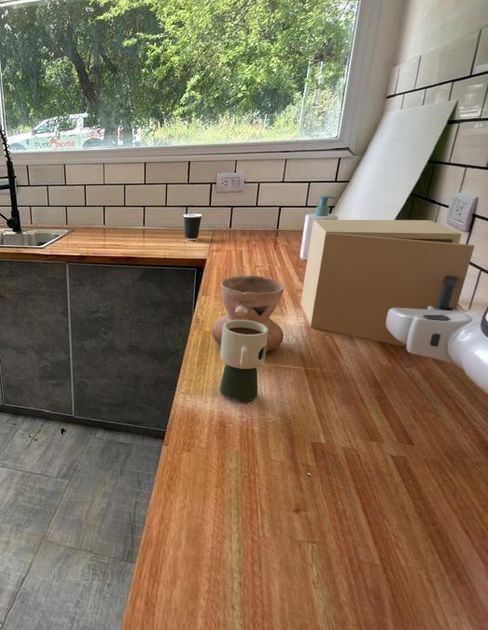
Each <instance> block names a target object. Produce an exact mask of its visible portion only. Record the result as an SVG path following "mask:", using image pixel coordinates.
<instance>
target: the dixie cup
mask: <svg viewBox="0 0 488 630" xmlns="http://www.w3.org/2000/svg"><path fill="white" fill-rule="evenodd" d="M202 217H203V214H201V213H185V214H183V222H184V223H183V224H184V238H185V239H186V238H187V239H197V240H198V238H199V233H200V228H201V221H202Z"/></svg>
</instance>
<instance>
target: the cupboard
mask: <svg viewBox="0 0 488 630" xmlns="http://www.w3.org/2000/svg"><path fill="white" fill-rule="evenodd" d="M326 233H337V234H349V235H361V236H373V237H385V238H397V239H409V240H421V241H433V242H445V243H457V244H460V243H461V239H462V238H461V237H462V233H461V232H458V231H457V230H454V229H451V228H450V227H447V226H445V225H442V224H439V223H438V222H435V221H433V220H430V219H426V220H425V219H423V220H422V219H419V220H418V219H337V220H313V226H312V233H311V240H310V246H309V253H308V259H307V261H306V267H305V273H304V280H303V286H302V293H301V298H300V299H301V300H300V305H301V307H302V309H303V313H304V314H305V317H306V319H307V321H308V324H309V325H310V327H311V321H312V315H313V309H314V303H315V297H316V291H317V285H318V279H319V273H320V266H321V260H322V254H323V248H324V242H325V236H326Z"/></svg>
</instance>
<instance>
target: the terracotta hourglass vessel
mask: <svg viewBox="0 0 488 630" xmlns="http://www.w3.org/2000/svg"><path fill="white" fill-rule="evenodd" d="M284 290H285V286H284V284H283V283H281V282H280V281H278V280H276V279H273V278H271V277H264V276H261V275H253V274H252V275H244V274H243V275H233V276H229V277H225V278H223V279H222V280H221V281H220V294H221V298H222V299H221V300H222V302H223V305H224V307H225V311H226V313H227V314H225V315H223V316H221V317H219V318H218V319H216V320H215V321H214V322H213V324H212V326H211V328H210V332H211V335H212V338H213V339H214V341H215V342H216V343H217V344H218V345H220V346H221V341H222V330H223V325H224V323H226V322H228V321H232V320H249V321H254V322H258V323H261V324H263V325H265V326H266V327H267V328H268V336H267V344H266V353H268V352H271V351H273V350H275V349H277V348H278V347H279V346H280V345H281V344H282V343H283V340H284V332H283V329H282V328H281V326H280V325H279V324H278V323H276V321H274V320H272V319H271V318H270V317H271V316H272V314H273V313H274V312H275V310H276V308H277V306H278V305H279V302H280V301H281V299H282V296H283V294H284Z"/></svg>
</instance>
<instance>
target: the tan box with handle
mask: <svg viewBox="0 0 488 630" xmlns="http://www.w3.org/2000/svg"><path fill="white" fill-rule="evenodd" d="M474 250H475V244H467V243H459V244H457V243H445V242H433V241H421V240H409V239H397V238H385V237H373V236H361V235H349V234H337V233H326V236H325V242H324V248H323V254H322V260H321V266H320V273H319V279H318V285H317V291H316V297H315V303H314V309H313V315H312V321H311V326H310V328H312V329H317V330H322V331H325V332H326V331H327V332H331V333H335V334H339V335H346V336H351V337H354V338H355V337H356V338H359V339H363V340H369V341H374V342H380V343H383V344H388V345H392V346H393V345H394V346H398V347H403V348H407V344H405V343H402V342H400V341H399V340H397V339H396V338H395V337H394V336H393V335H392V334H391V333H390V332H389V330H388V329H387V327H386V318H387V314H388V311H389V309H391V308H411V309H427V308H428V306H436V307H439V308H441V310H446V311H448V309H449V307H456V308H458V306H459V302H460V298H461V294H462V292H463V288H464V284H465V280H466V278H467V274H468V270H469V266H470V263H471V260H472V256H473V252H474Z"/></svg>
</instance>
